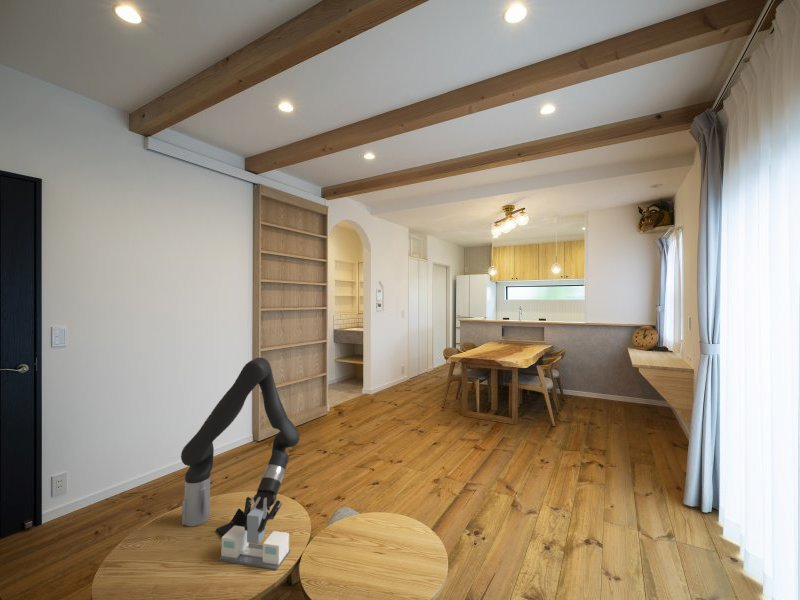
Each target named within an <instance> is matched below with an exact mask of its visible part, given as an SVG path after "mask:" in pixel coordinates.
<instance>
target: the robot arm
mask: <svg viewBox="0 0 800 600" xmlns="http://www.w3.org/2000/svg"><path fill="white" fill-rule="evenodd" d="M257 385H258V386H259V388H260V391H261V394H262V399H263V400H262V401H263V406H264V410H265V414H266V417H267V418H268V421H269V423H270V426H271V427H272V429H276V430H279V432H277V434H276V435H275V437H274V439H273V442H272V449H271V456H270V459H269V461H268V463H267V466H266V468H265V470H264V472H263V474H262V477H261V480H260V482H259V485H258V487H257V489H256V490H257V491H256V493H255V494H254V496H252V497H250V496H247V497H246V498H245V503H244V510H243V512H244V515H246V516H247V515H248V514H249V513H250V512H251V511H252V510H255V509H260V510H263V511H264V514H263V519H262V520H261V523H260V525H259V528H258V532H259V533H262V531H263V530H264V529H265V530H266V525H267V523H268V521H271V520H272V521H273V520H274V519H275V516H276V515H277V513H278V512H279V510H280V509H281V506H282V505H283V503H282V502H281V501H280V500H278V499H277V495H278V494H279V490H280V488H281V484H282V482H283V479H284V476H285V471H286V468H287V466H288V463H289V461H290V456H289V454H288V453H287V452H286V449H289V448H292V447H295V446H297V445H298V444H299V442H300V432H299V430H298V429H297V427H296V426H295V425H294V423H293V422H292V421H291V420H290V418H289V417H288V414H287V412H286V410H285V407H284V405H283V403H282V401H281V398H280V395H279V392H278V390H277V386H276V383H275V379H274V375H273V371H272V366H271V364H270V361H268V360H267V359H266V358H264V357H256V358H254V359H252V360H249V361H248V362H247V363H246V364H244V366H243V367H242V369H241V371H240V372H239V374H238V375H237V378H236V379H235V381H234V382H233V384H232V386H230V388H229V389H228V390H227V391H226V393H225V394H224V395H223V396H222V398H221V399H220V400H219V401H218V402H217V404H216V405H215V407H214V408H213V410H212V411H211V412H210V414H209V416H208V417H207V418H206V419H205V421H204V422H203V423H202V426H201V427H200V428H199V430H198V431H197V432H196V434H194V436H193V437H192V438H191V439H190V440H189V441H188V442H186V444H185V445H184V447H182V450H181V453H180V454H181V455H180V460H181V462H182V463H183V465H184V466H187V467H189V468H188V469H187V471H186V473H185V474H184V498H183V500H182V507H181V508H182V509H181V510H182V511H181V512H182V513H181V526H187V527H198V526H200V525H202V524H204V523H206V522H207V521H208V520H209V519H210V512H211V505H210V504H211V471H212V470H213V465H214V448H215V447H214V443H213V442H214V441H216V439H217V438H218V437H219V436H220V435H221V434H223V433H224V431H225V430H226V429H228V428H229V427H230V425H231V424H233V422H234V421H235V419H236V418H237V417H238V415H239V414H240V413H241V411H242V409H243V407H244V404H245V402H246V400H247V398H248V396H249V395H250V393H251V392H252V391H253V389H255V388H256V386H257ZM252 504H253V505H252ZM272 506H273V507H272ZM271 507H272V509H271ZM244 528H245V530H246V531H247V520H246V523H245V525H244Z"/></svg>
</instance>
